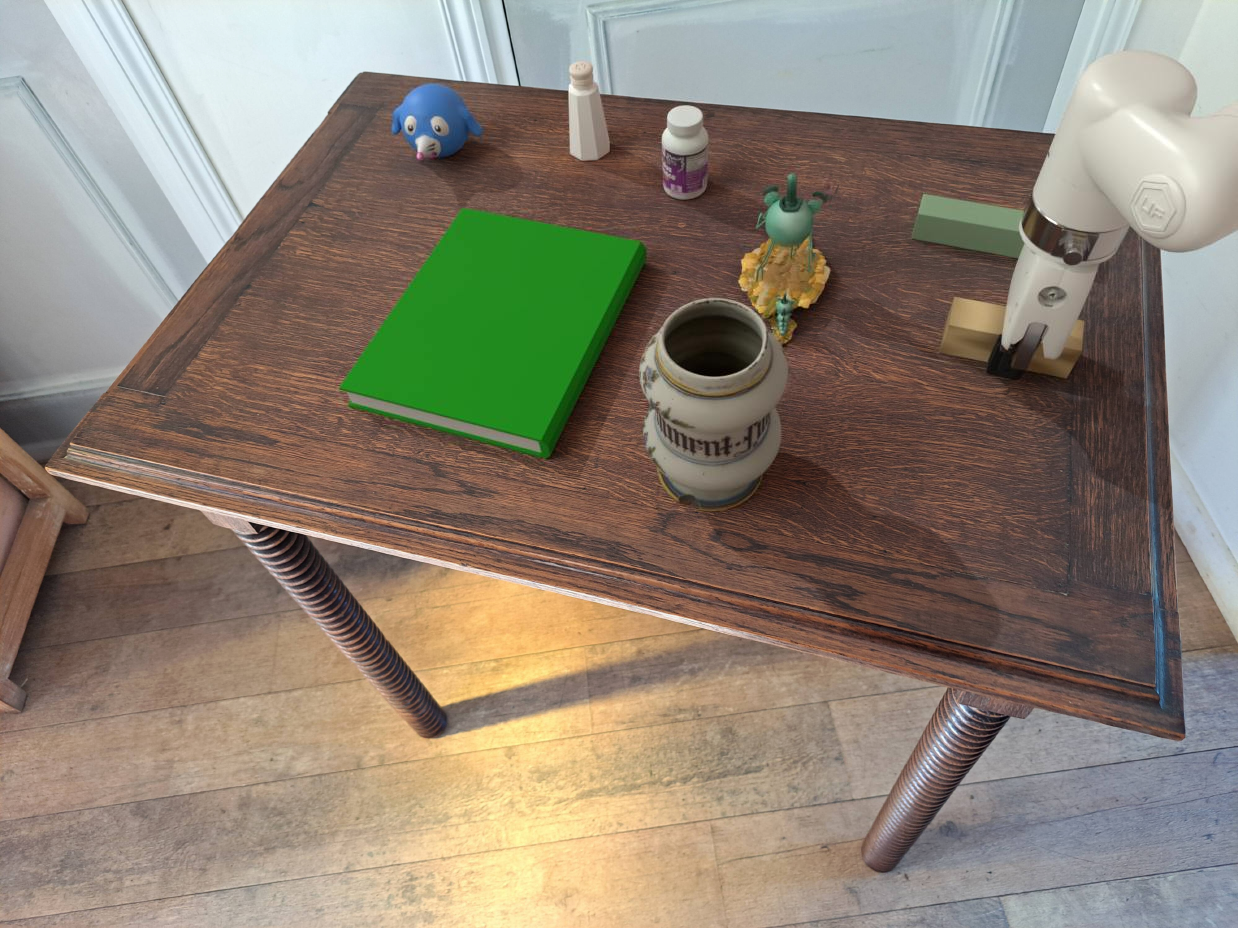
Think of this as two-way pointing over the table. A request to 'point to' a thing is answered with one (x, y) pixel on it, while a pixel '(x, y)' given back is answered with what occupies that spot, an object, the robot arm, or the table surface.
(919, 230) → the green bar
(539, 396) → the book
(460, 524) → the table surface
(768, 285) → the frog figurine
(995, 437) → the table surface
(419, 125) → the blue mole toy
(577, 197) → the table surface
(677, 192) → the pill bottle
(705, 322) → the apothecary jar
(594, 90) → the salt shaker
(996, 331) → the brass block
